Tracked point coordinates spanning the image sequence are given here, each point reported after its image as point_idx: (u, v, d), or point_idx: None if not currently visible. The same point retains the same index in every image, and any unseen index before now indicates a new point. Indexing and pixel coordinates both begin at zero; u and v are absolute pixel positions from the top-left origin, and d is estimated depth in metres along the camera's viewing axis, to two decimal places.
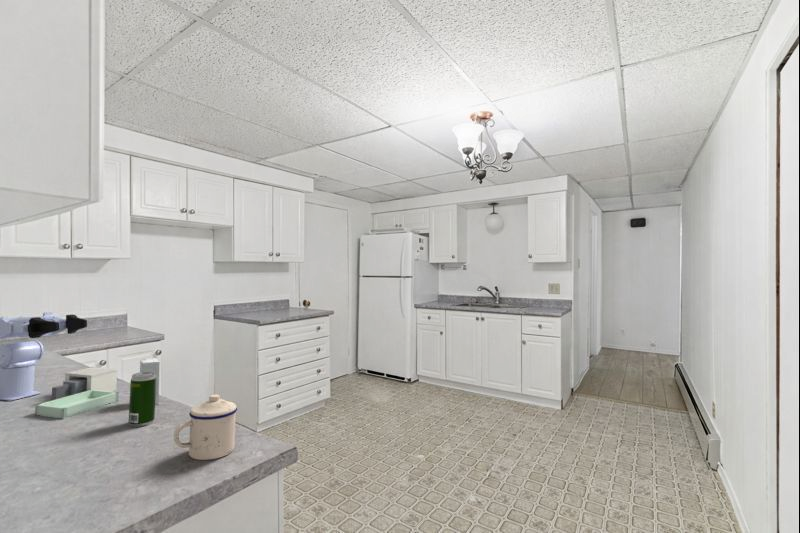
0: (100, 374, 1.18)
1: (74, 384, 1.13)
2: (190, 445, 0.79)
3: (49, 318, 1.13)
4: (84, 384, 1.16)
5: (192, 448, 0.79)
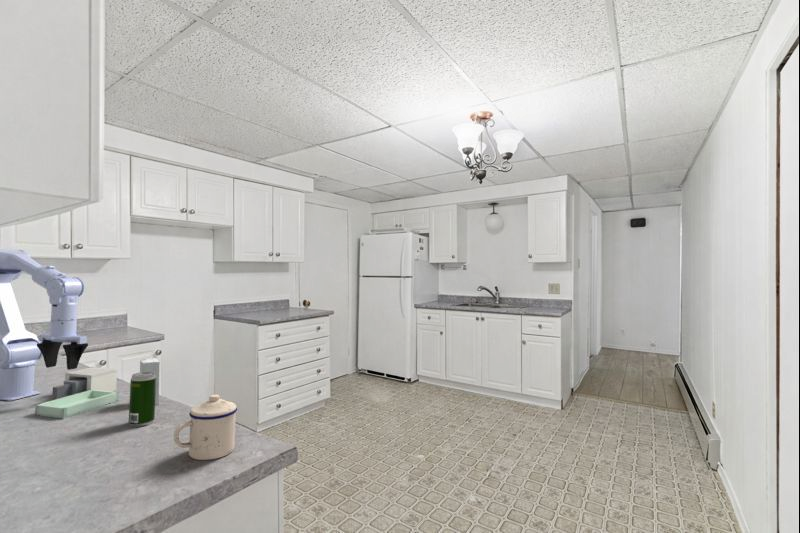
0: (100, 374, 1.18)
1: (75, 384, 1.13)
2: (190, 445, 0.79)
3: None
4: (85, 384, 1.16)
5: (192, 448, 0.79)
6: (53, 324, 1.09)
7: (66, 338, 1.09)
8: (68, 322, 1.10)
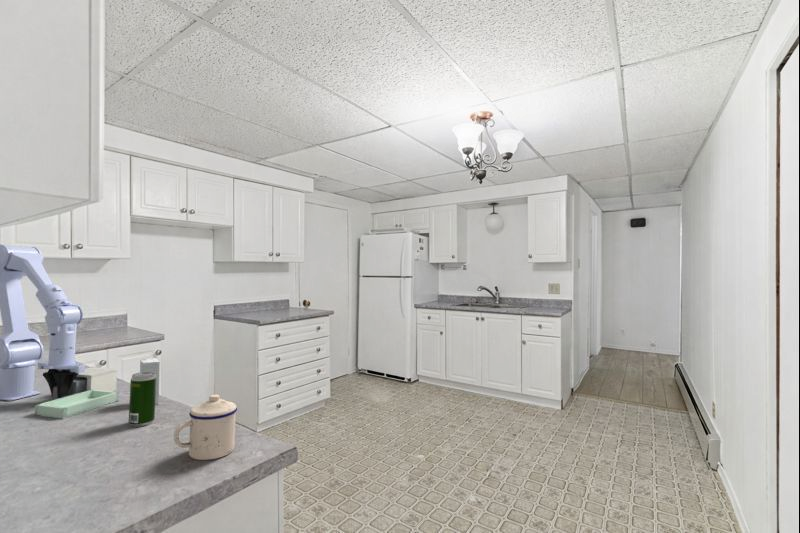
0: (100, 374, 1.18)
1: (75, 384, 1.14)
2: (190, 445, 0.79)
3: None
4: (85, 383, 1.16)
5: (192, 448, 0.79)
6: (51, 353, 1.09)
7: (64, 367, 1.09)
8: (66, 351, 1.10)
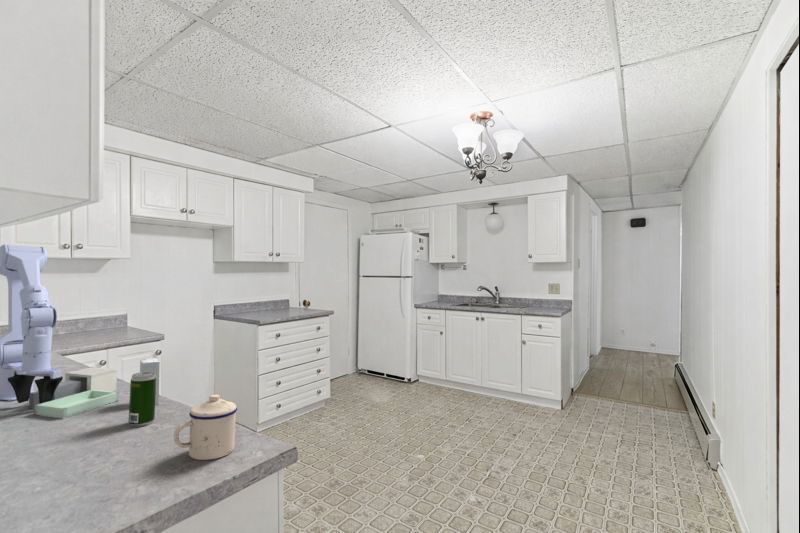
0: (100, 374, 1.18)
1: None
2: (190, 445, 0.79)
3: None
4: (64, 389, 1.10)
5: (192, 448, 0.79)
6: (25, 357, 1.03)
7: (38, 372, 1.03)
8: (41, 355, 1.04)
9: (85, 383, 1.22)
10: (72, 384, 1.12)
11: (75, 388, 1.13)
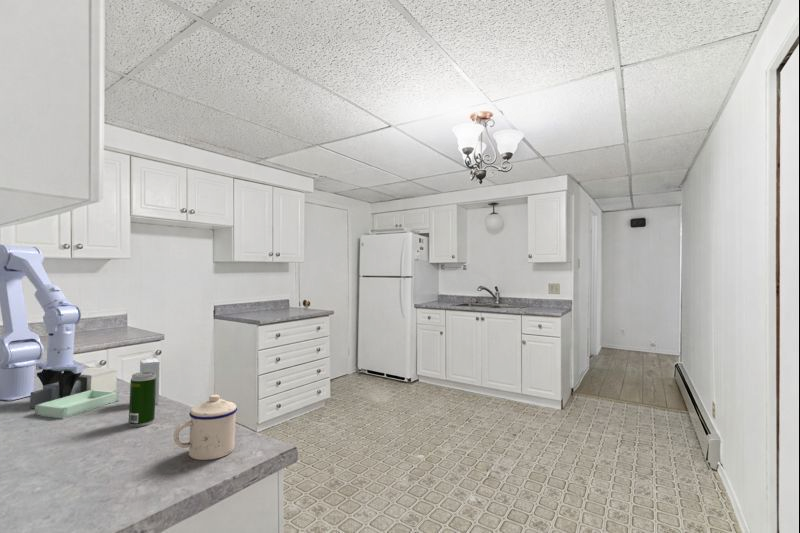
0: (100, 374, 1.18)
1: (54, 389, 1.08)
2: (190, 445, 0.79)
3: None
4: None
5: (192, 448, 0.79)
6: (49, 353, 1.08)
7: (63, 367, 1.08)
8: (65, 351, 1.10)
9: (85, 383, 1.22)
10: None
11: (76, 387, 1.13)
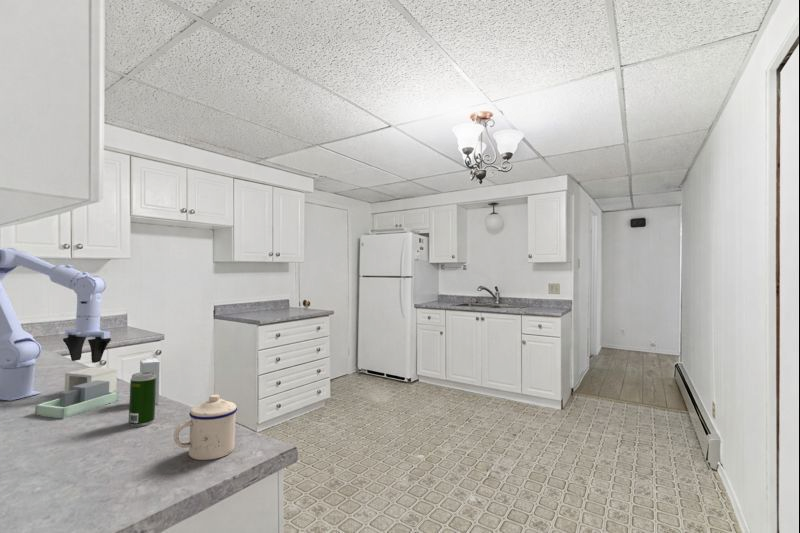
0: (100, 374, 1.18)
1: (84, 390, 1.06)
2: (190, 445, 0.79)
3: None
4: (94, 389, 1.08)
5: (192, 448, 0.79)
6: (79, 320, 1.16)
7: (91, 333, 1.16)
8: (92, 318, 1.17)
9: None
10: (101, 384, 1.10)
11: (104, 388, 1.11)
